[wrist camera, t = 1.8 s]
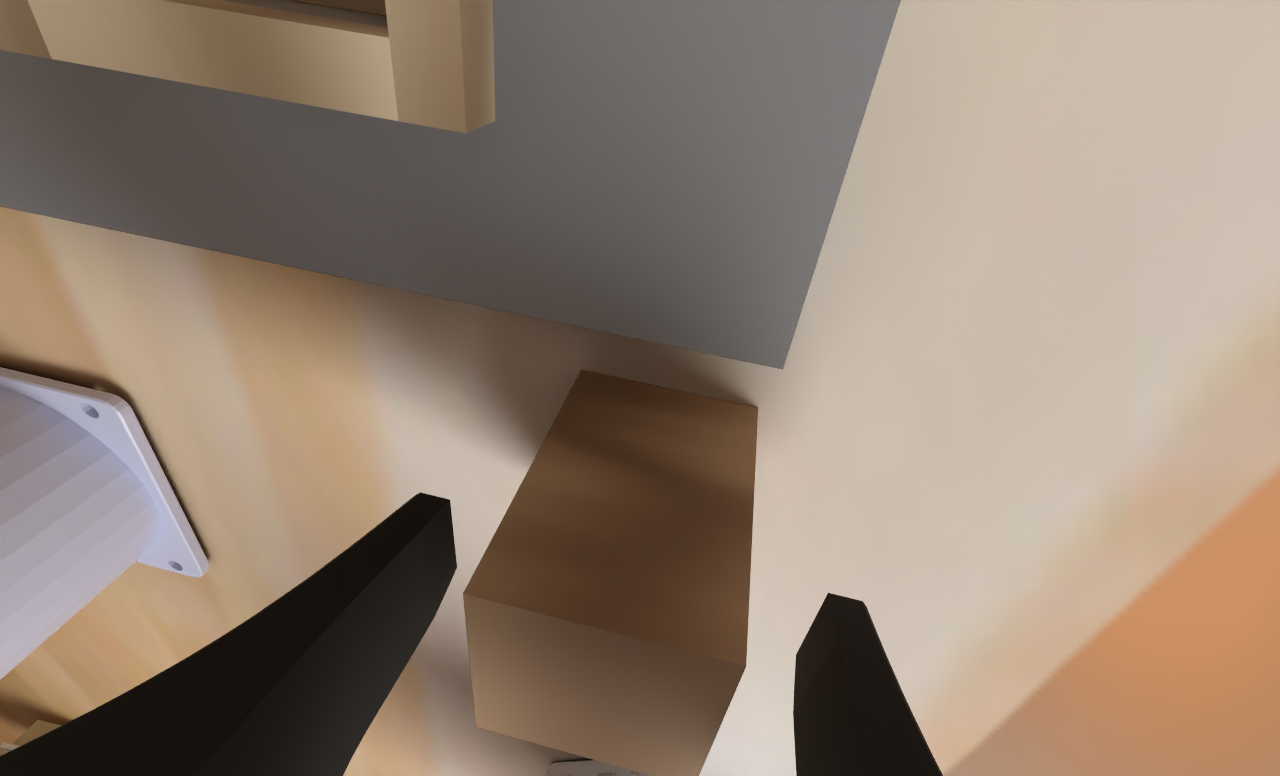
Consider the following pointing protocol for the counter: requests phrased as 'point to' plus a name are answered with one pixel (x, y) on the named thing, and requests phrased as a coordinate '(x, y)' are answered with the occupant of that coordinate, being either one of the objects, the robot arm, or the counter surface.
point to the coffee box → (589, 769)
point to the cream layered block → (30, 735)
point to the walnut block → (620, 580)
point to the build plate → (463, 146)
